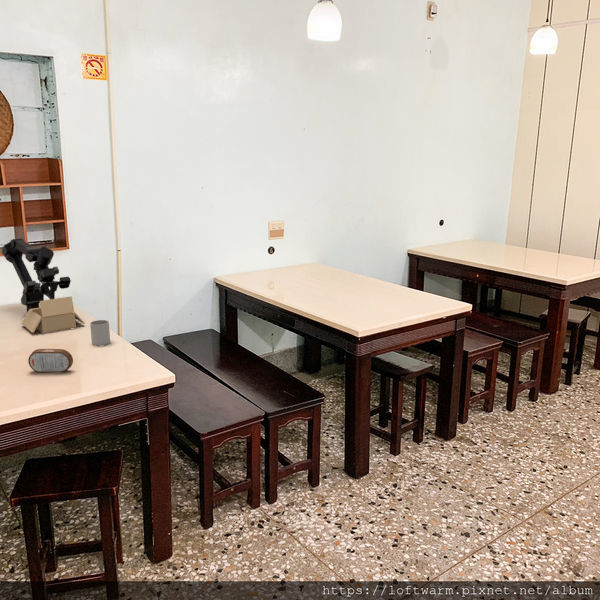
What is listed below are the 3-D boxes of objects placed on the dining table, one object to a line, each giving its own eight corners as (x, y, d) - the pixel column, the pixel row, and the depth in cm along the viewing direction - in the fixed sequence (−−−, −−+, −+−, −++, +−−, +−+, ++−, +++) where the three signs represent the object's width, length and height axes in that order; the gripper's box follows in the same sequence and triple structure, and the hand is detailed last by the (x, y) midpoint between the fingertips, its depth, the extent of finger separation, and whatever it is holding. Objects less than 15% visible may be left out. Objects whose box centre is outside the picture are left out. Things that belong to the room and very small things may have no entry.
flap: (42, 317, 254) (42, 317, 255) (74, 312, 262) (73, 312, 263) (39, 301, 254) (39, 301, 254) (71, 296, 262) (71, 296, 262)
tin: (74, 370, 215) (72, 348, 213) (71, 373, 212) (69, 350, 210) (32, 370, 215) (29, 348, 212) (28, 373, 212) (25, 351, 209)
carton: (18, 324, 270) (16, 308, 269) (69, 315, 284) (67, 301, 282) (32, 335, 254) (31, 319, 252) (85, 326, 267) (84, 311, 266)
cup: (95, 347, 240) (93, 326, 238) (87, 340, 248) (85, 320, 245) (112, 344, 244) (111, 323, 242) (104, 337, 252) (103, 317, 249)
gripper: (23, 263, 256) (33, 293, 250) (67, 258, 267) (78, 286, 262) (20, 278, 264) (30, 307, 258) (63, 273, 275) (73, 301, 269)
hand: (53, 300), depth 262 cm, fingers closed
